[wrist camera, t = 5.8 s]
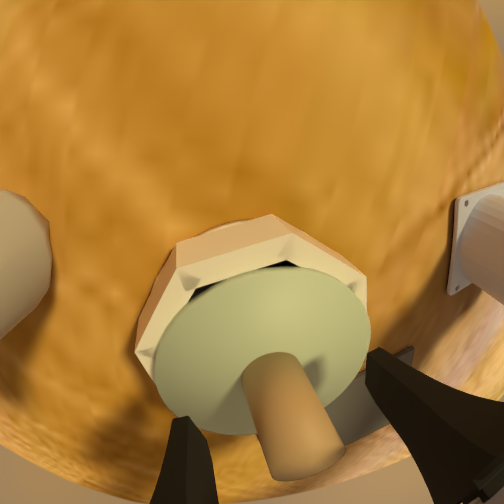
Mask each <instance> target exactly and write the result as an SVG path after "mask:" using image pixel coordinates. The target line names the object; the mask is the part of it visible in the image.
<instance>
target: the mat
mask: <svg viewBox="0 0 504 504" xmlns="http://www.w3.org/2000/svg"><path fill="white" fill-rule="evenodd" d="M413 353H414V348H413V346H411V347H409V348H407V349H405V350H403V351H401V352H400V353H398V354H396V355H394V356H395V357H396V358H398V359H400V360H401V361H403V362H404V363H406V364H408V365H409V366H411V363H412V358H413ZM365 375H366V370H364V371H362V372H360V373H358V374H357V375H356V377H355V378H354V379H353V381H352V382H351V383H350V384H349V386H348V387H347V388H346V389H345V390H344V391H343V392H342V393H341V394H340V395H339V396H338V397H337V398H336V399H335V400H334V401H332V402H331V403H330V404H328V405H327V406H326V407H325V408H324V409H325V411H326V413H327V414H328V416H329V418H330V420H331V422H332V424H333V426H334V427H335V429H336V431H337V433H338V435H339V437H340V438H341V440H342V442H343V444H344V446H345V445H348V444H350V443H352V442H354V441H356V440H358V439H360V438H362V437H365V436H367V435H369V434H371V433H373V432H374V431H376V430H378V429H380V428H382V427H384V426H386V425H388V424H390V422H389V421H388V420H387V418H386V417H385V416H384V414H383V413H382V411H381V410H380V409H379V407H378V406H377V405H376V403H375V401H374V400H373V398H372V396H371V394H370V393H369V391H368V389H367V387H366V385H365Z"/></svg>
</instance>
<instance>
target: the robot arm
mask: <svg viewBox="0 0 504 504" xmlns="http://www.w3.org/2000/svg"><path fill="white" fill-rule="evenodd" d="M471 283H473V284H475V285H476V286H478V287H479V288H480V289H482V290H483V291H485V292H486V293H488V294H489V295H491V296H492V297H493V298H495V299H496V300H498V301H499V302H500V303H502V304H503V305H504V181H503V182H500V183H497V184H494V185H491V186H489V187H486V188H483V189H480V190H477V191H474V192H471V193H468V194H465V195H462V196H459V197H458V198H457V199H456V201H455V212H454V231H453V244H452V254H451V263H450V271H449V279H448V286H447V294H449V295H450V296H452V295H454V294H455V293H457V292H459V291H460V290H462V289H464V288H465V287H467V286H468V285H470V284H471ZM365 385H366V387H367V389H368V391H369V393H370V394H371V396H372V398H373V400H374V401H375V403H376V405H377V406H378V407H379V409H380V410H381V411H382V413H383V414H384V416H385V417H386V418H387V420H388V421H389V422H390V424H391V425H392V426H393V428H394V429H395V430H396V432H397V433H398V434H399V436H400V437H401V438H402V440H403V441H404V443H405V444H406V446H407V448H408V450H409V451H410V453H411V455H412V457H413V458H414V460H415V462H416V464H417V466H418V468H419V470H420V472H421V474H422V476H423V478H424V481H425V483H426V485H427V487H428V489H429V492H430V494H431V497H432V499H433V502H434V504H460V503H463V504H504V402H499V401H494V400H490V399H486V398H482V397H478V396H474V395H471V394H468V393H465V392H462V391H460V390H457V389H454V388H452V387H450V386H447V385H445V384H443V383H441V382H439V381H437V380H435V379H433V378H431V377H429V376H427V375H425V374H423V373H422V372H420V371H418V370H416V369H414V368H413V367H411V366H409V365H408V364H406V363H404V362H403V361H401V360H400V359H398V358H396V357H395V356H393V355H392V354H390V353H388V352H387V351H385V350H384V349H382V348H380V347H379V348H377V349H375V350H373V351H371V352H369V353H367V360H366V375H365ZM150 504H219V502H218V496H217V490H216V483H215V476H214V470H213V463H212V459H211V455H210V451H209V447H208V444H207V440H206V438H205V437H204V436H203V434H202V433H201V432H200V431H199V429H198V428H197V426H196V425H195V424H194V422H193V421H192V420H191V418H190V417H189V415H188V416H183V417H179V418H174V419H173V420H172V424H171V430H170V435H169V440H168V444H167V449H166V453H165V457H164V461H163V464H162V468H161V472H160V475H159V478H158V481H157V484H156V487H155V490H154V493H153V496H152V499H151V501H150Z"/></svg>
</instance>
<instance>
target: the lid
mask: <svg viewBox="0 0 504 504" xmlns="http://www.w3.org/2000/svg"><path fill="white" fill-rule="evenodd" d="M370 338H371V327H370V321H369V317H368V314H367V311H366V309H365V307H364V305H363V304H362V302H361V300H360V299H359V298H358V297H357V296H356V295H355V294H354V293H353V292H352V291H351V290H350V289H349V288H348V287H347V286H346V285H345V284H344V283H342V282H341V281H340V280H338V279H337V278H335V277H333V276H331V275H329V274H327V273H324V272H321V271H318V270H315V269H310V268H304V267H295V266H278V267H267V268H261V269H257V270H252V271H247V272H244V273H241V274H238V275H235V276H232V277H229V278H227V279H225V280H223V281H221V282H219V283H217V284H214V285H213V286H211V287H209V288H208V289H206V290H204V291H203V292H201V293H199V294H198V295H197V296H195V297H194V298H193V299H192V300H190V301H189V302H188V303H187V304H185V305H184V306H183V307H182V308H181V309H180V311H179V312H178V313H177V314H176V315H175V316H174V317H173V318H172V320H171V321H170V323H169V324H168V325H167V327H166V328H165V330H164V332H163V334H162V336H161V338H160V340H159V344H158V347H157V350H156V357H155V382H156V386H157V389H158V392H159V394H160V396H161V398H162V400H163V402H164V403H165V404H166V406H167V407H168V408H169V409H170V410H171V411H172V412H173V413H174V414H175V415H176V416H177V417H183V416H188V415H189V417H190V418H191V420H192V421H193V422H194V424H195V425H196V426H197V428H199V429H202V430H205V431H209V432H213V433H218V434H225V435H252V434H258V437H259V441H260V444H261V447H262V450H263V453H264V456H265V459H266V462H267V465H268V468H269V471H270V474H271V476H272V478H273V479H274V480H277V481H294V480H299V479H303V478H307V477H310V476H313V475H315V474H317V473H320V472H322V471H324V470H326V469H327V468H329V467H331V466H332V465H334V464H335V463H336V462H337V461H339V460H340V459H341V458H342V456H343V455H344V453H345V451H346V448H345V446H344V444H343V442H342V440H341V438H340V437H339V435H338V433H337V431H336V429H335V427H334V426H333V424H332V422H331V420H330V418H329V416H328V414H327V413H326V411H325V409H324V408H325V407H326V406H327V405H328V404H330V403H331V402H332V401H334V400H335V399H336V398H337V397H338V396H339V395H340V394H341V393H342V392H343V391H344V390H345V389H346V388H347V387H348V386H349V384H350V383H351V382H352V381H353V379H354V378H355V377H356V375H357V373H358V372H359V370H360V368H361V367H362V365H363V362H364V360H365V358H366V355H367V352H368V349H369V344H370Z"/></svg>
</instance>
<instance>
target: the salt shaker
mask: <svg viewBox="0 0 504 504" xmlns="http://www.w3.org/2000/svg"><path fill="white" fill-rule="evenodd" d="M52 259H53V256H52V250H51V244H50V233H49V221H48V220H47V219H46V218H45V217H44V216H43V215H42V214H41V213H40V212H39V211H38V210H37V209H36V208H35V207H34V206H33V205H32V204H31V203H30V202H29V201H28V200H27V199H26V198H25V197H24V196H21V195H19V194H16V193H14V192H11V191H8V190H0V340H1V339H2V338H3V337H4V336H5V335H6V334H7V333H8V332H10V331H11V330H12V329H13V328H14V327H15V326H16V325H17V324H18V323H20V322H21V321H22V320H23V319H24V318H25V317H26V316H27V315H29V314H30V313H31V312H32V311H33V310H34V309H36V307H37V306H38V304H39V303H40V301H41V300H42V298H43V297H44V295H45V294H46V292H47V291H48V289H49V286H50V283H51V270H52Z"/></svg>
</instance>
